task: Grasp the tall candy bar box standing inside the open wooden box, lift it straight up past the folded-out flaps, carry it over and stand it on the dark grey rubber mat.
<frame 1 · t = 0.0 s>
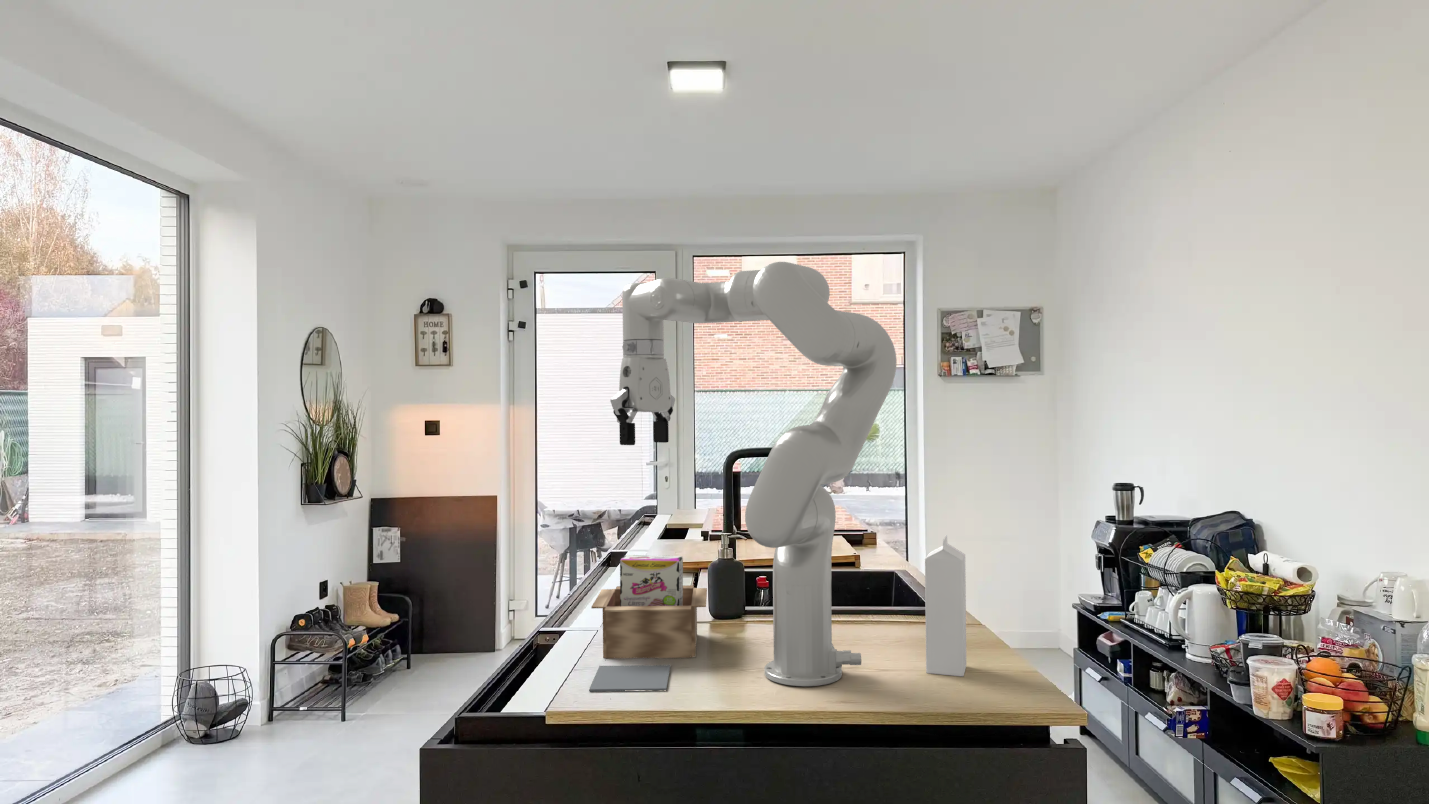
hand: (644, 443, 162), 37 cm above the table, tool pointing down, fingers open, 9 cm apart
candy bar box: (652, 647, 162), resting in open wooden box
open wooden box: (652, 645, 162), on the table
milk: (946, 670, 146), on the table
mat: (631, 679, 143), on the table
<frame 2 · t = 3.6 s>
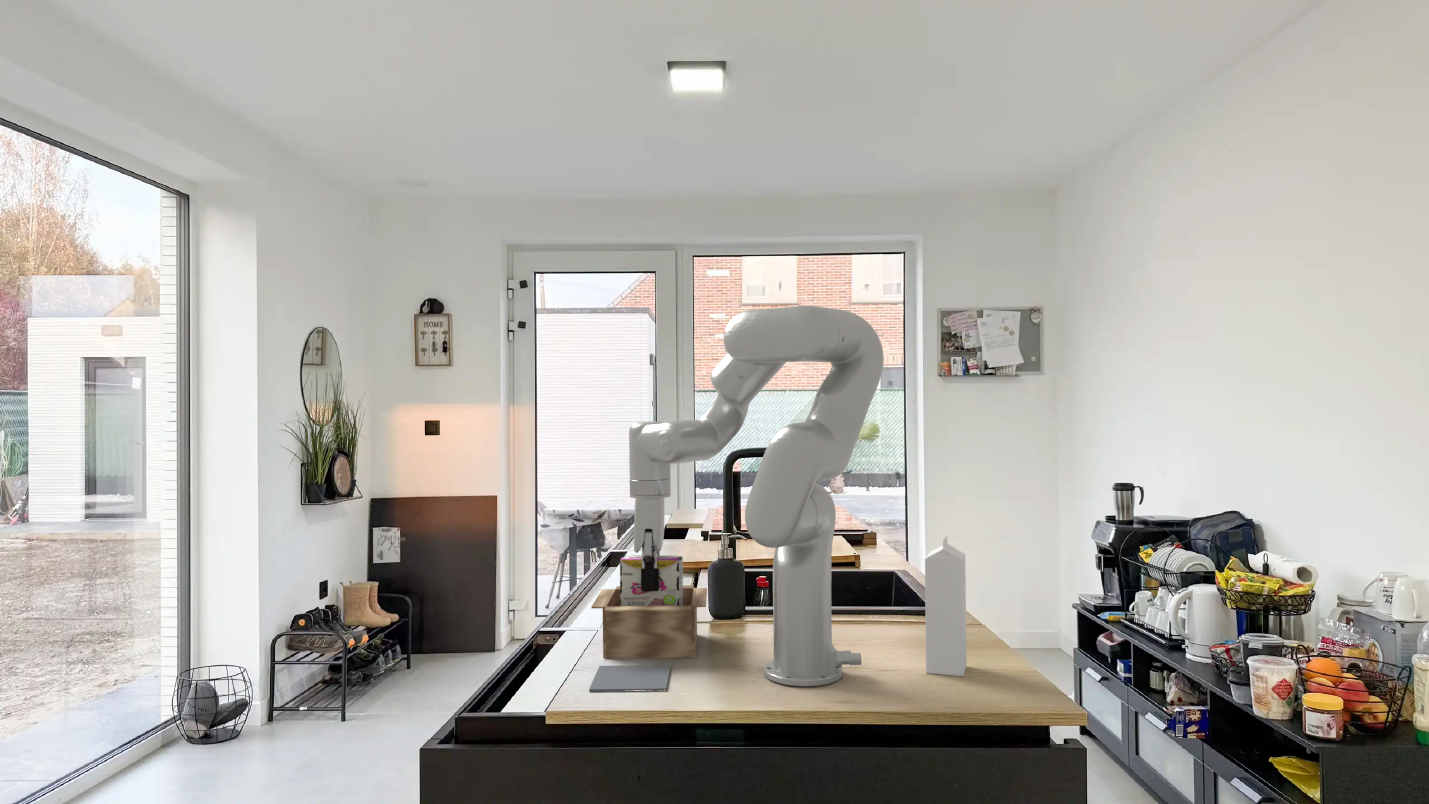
hand: (651, 586, 162), 11 cm above the table, tool pointing down, fingers closed on candy bar box, 5 cm apart
candy bar box: (652, 646, 162), resting in open wooden box, touching gripper
everything else where it was.
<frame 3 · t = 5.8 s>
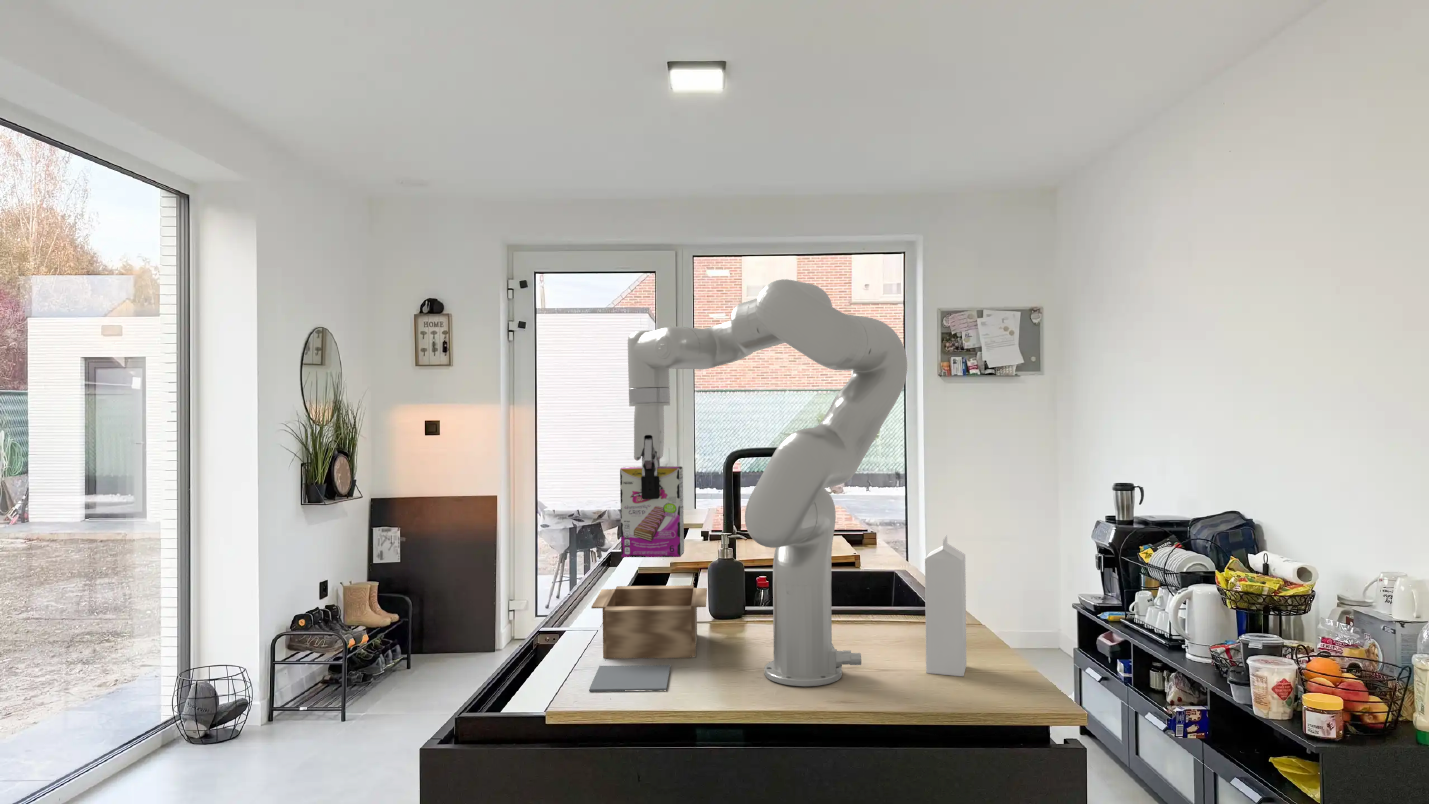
hand: (651, 496, 162), 28 cm above the table, tool pointing down, fingers closed on candy bar box, 5 cm apart
candy bar box: (653, 557, 162), point 16 cm above the table, touching gripper
everything else where it was.
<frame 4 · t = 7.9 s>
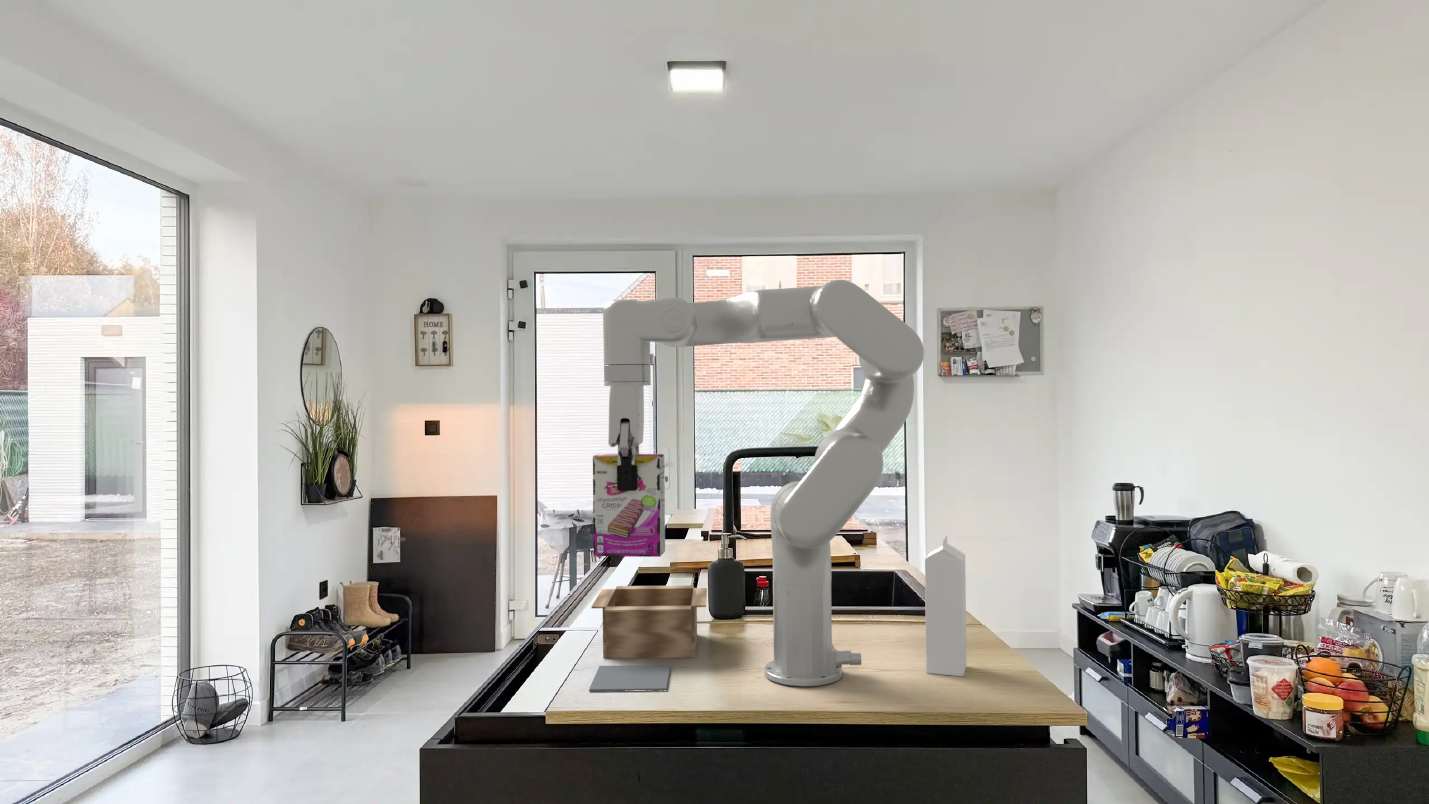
hand: (629, 487, 143), 31 cm above the table, tool pointing down, fingers closed on candy bar box, 5 cm apart
candy bar box: (630, 556, 143), point 20 cm above the table, touching gripper
everything else where it was.
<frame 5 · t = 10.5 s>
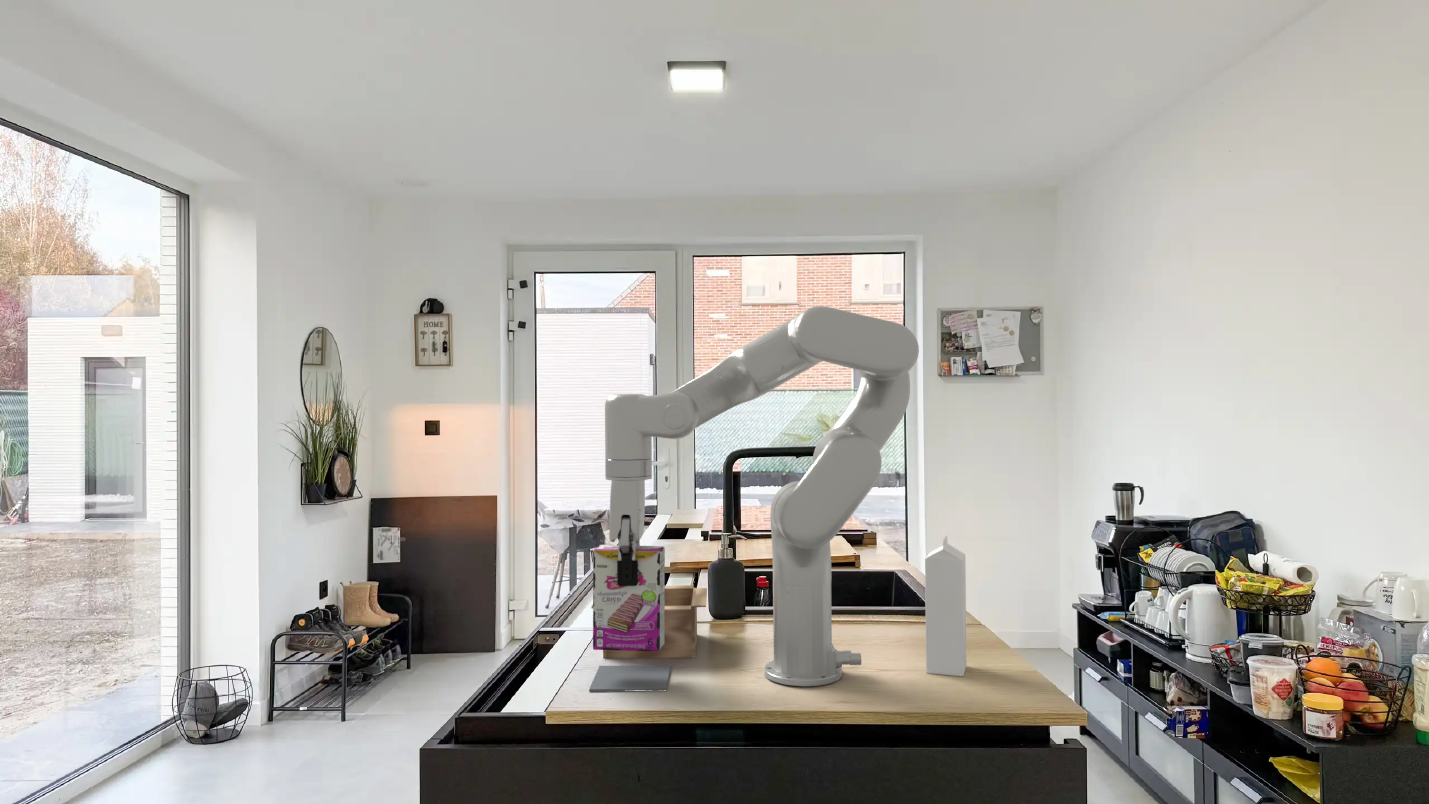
hand: (629, 580, 143), 16 cm above the table, tool pointing down, fingers closed on candy bar box, 5 cm apart
candy bar box: (629, 649, 143), point 5 cm above the table, touching gripper
everything else where it was.
when the fingers open (11 cm above the table, at t = 12.4 s): candy bar box stays where it is, resting on mat.
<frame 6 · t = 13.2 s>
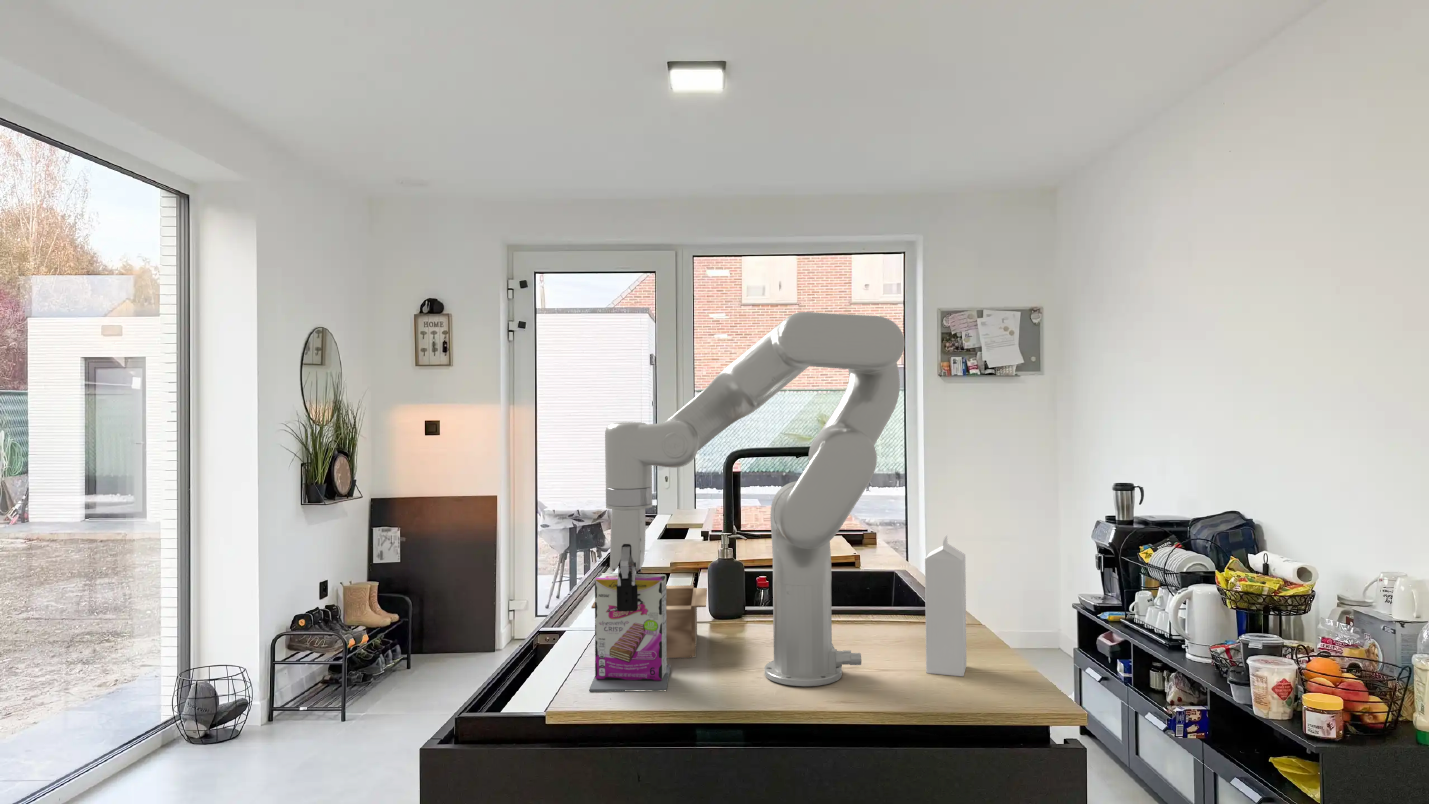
hand: (630, 603, 143), 12 cm above the table, tool pointing down, fingers open, 9 cm apart
candy bar box: (631, 677, 143), resting on mat
everything else where it was.
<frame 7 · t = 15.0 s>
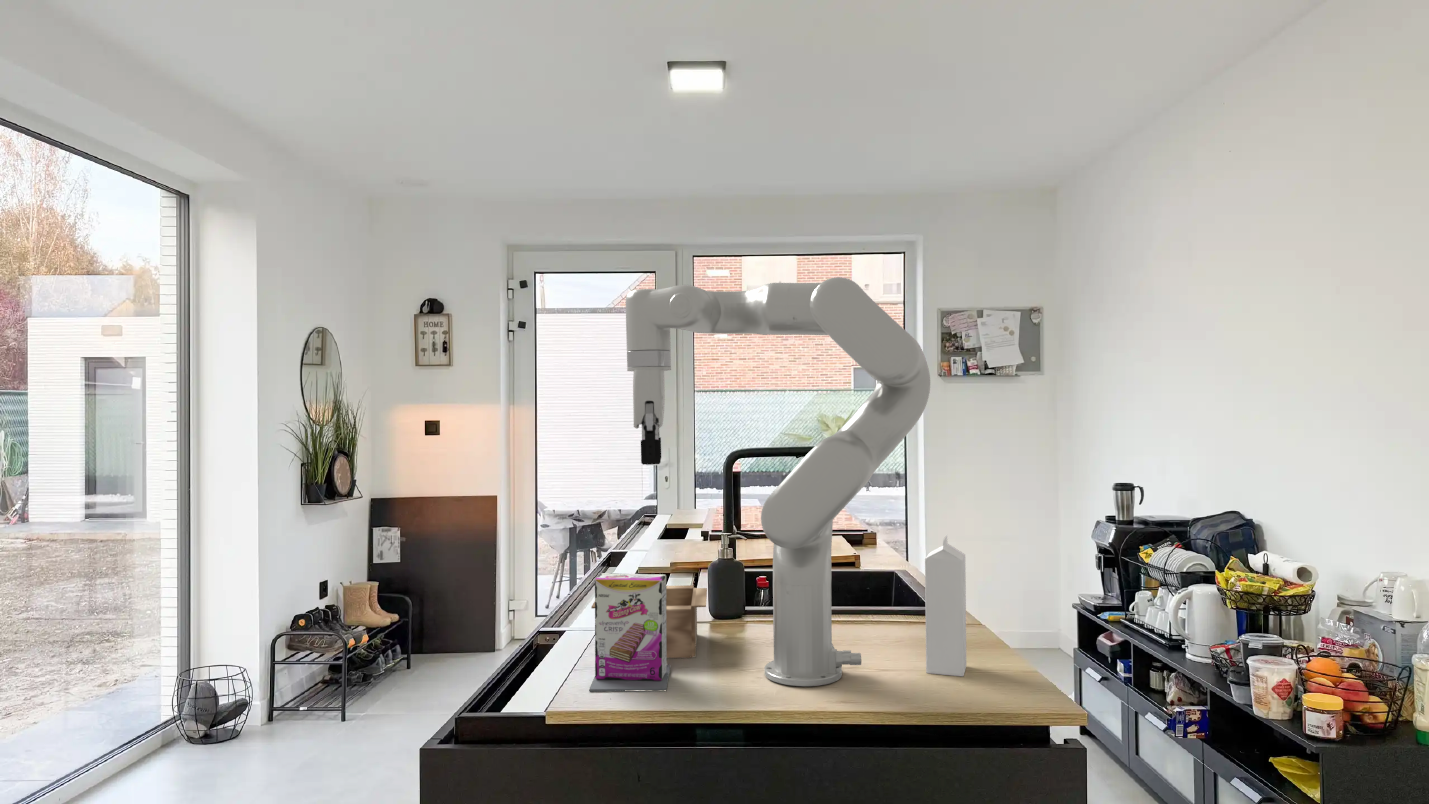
hand: (651, 462, 151), 35 cm above the table, tool pointing down, fingers open, 9 cm apart
nothing on the table moved.
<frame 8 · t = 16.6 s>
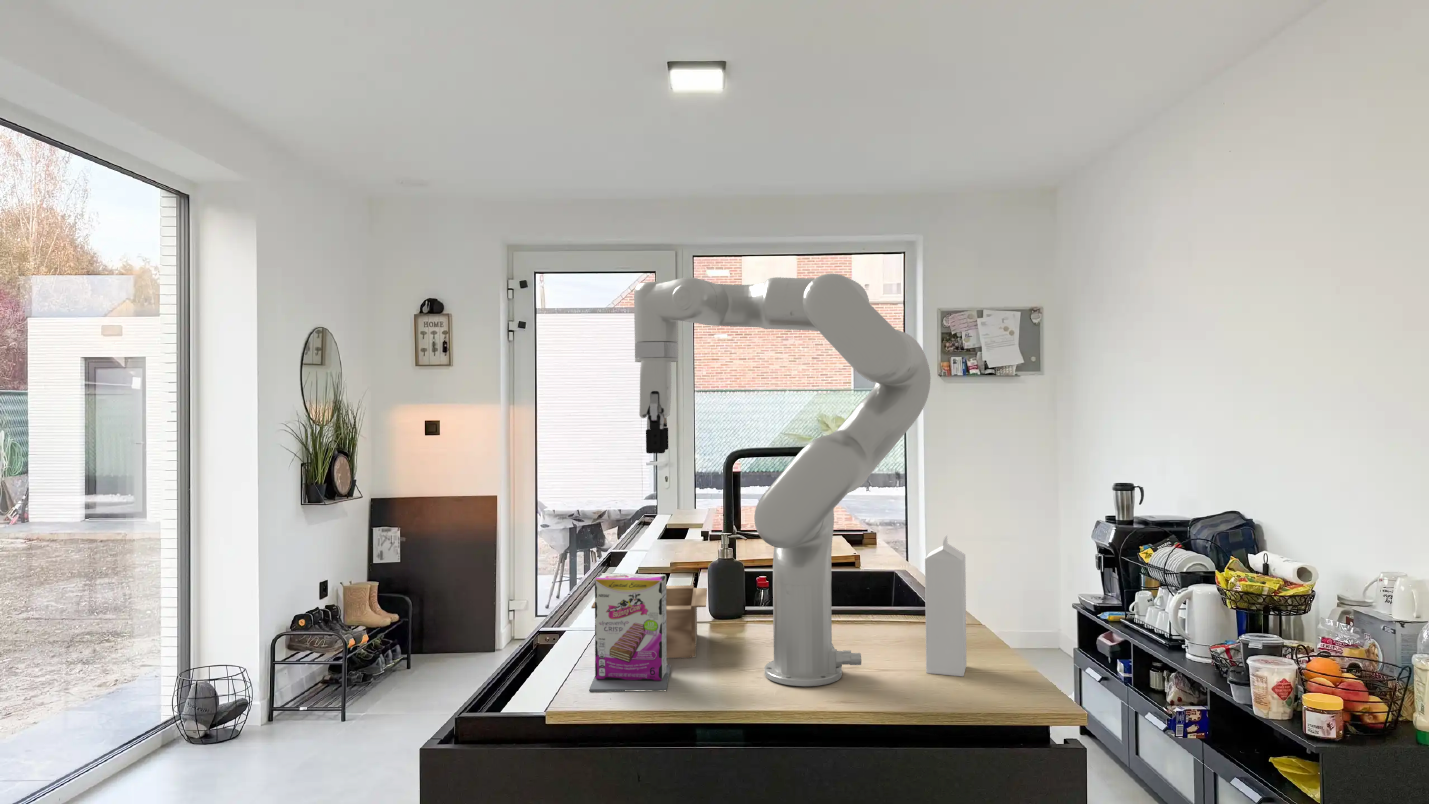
hand: (657, 451, 154), 36 cm above the table, tool pointing down, fingers open, 9 cm apart
nothing on the table moved.
at the end: candy bar box inside the target area on the mat (0.0 cm from its centre), point 0.2 cm above the mat's base; candy bar box tilted 0°; the gripper is holding nothing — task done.
